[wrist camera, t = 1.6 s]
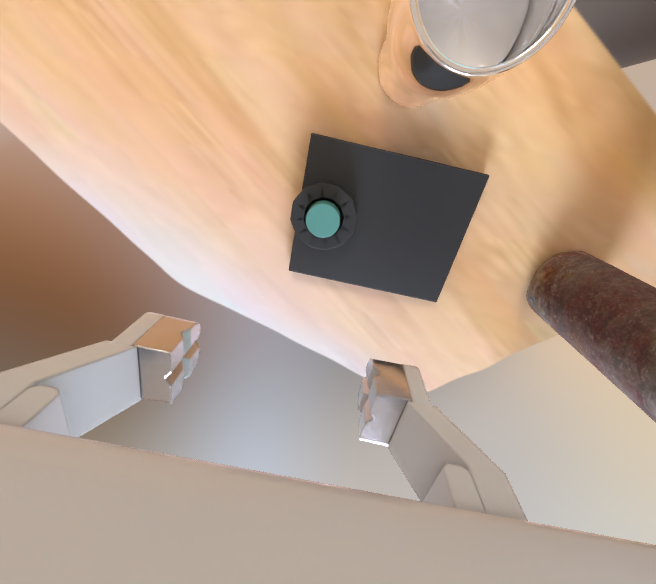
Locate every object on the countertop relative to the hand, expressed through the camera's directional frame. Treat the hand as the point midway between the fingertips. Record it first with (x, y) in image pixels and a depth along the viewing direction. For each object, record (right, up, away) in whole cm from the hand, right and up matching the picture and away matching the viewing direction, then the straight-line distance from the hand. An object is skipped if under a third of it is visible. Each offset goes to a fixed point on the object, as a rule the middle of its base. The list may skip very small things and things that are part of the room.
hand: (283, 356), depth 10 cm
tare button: (+1, +9, +18) cm, 20 cm away
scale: (+7, +9, +21) cm, 24 cm away
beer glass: (+9, +21, +15) cm, 27 cm away
